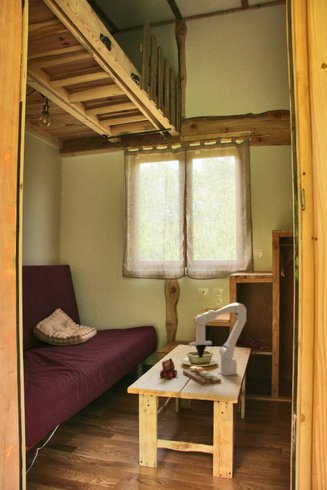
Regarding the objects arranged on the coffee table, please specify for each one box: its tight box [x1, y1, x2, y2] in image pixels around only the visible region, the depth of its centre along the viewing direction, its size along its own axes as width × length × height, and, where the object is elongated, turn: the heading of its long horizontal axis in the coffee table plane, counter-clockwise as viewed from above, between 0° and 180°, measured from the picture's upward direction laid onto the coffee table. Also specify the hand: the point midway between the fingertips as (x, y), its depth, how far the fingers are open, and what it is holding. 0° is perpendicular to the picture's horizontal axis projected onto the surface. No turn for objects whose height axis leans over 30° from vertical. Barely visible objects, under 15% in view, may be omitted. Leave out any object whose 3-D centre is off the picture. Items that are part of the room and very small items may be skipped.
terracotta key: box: [195, 366, 204, 374], centre depth 239 cm, size 4×4×4 cm
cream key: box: [189, 365, 197, 372], centre depth 245 cm, size 4×4×4 cm
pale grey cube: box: [204, 373, 214, 380], centre depth 228 cm, size 4×4×4 cm
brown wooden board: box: [182, 368, 222, 386], centre depth 236 cm, size 12×25×2 cm, turn 23°
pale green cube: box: [199, 370, 209, 377], centre depth 234 cm, size 4×4×4 cm
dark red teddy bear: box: [159, 357, 178, 380], centre depth 238 cm, size 7×12×10 cm, turn 147°
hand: (200, 357), depth 244 cm, fingers closed
